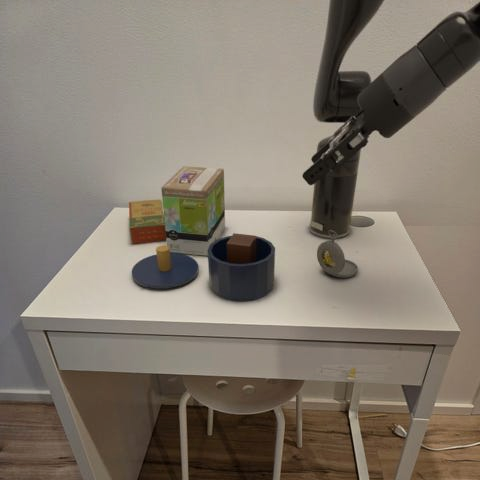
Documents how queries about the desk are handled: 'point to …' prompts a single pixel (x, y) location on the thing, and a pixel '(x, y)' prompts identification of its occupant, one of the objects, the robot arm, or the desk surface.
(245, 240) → the block
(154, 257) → the tin lid
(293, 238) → the desk surface
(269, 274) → the tin
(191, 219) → the tea box
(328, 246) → the pocket watch
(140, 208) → the carton
